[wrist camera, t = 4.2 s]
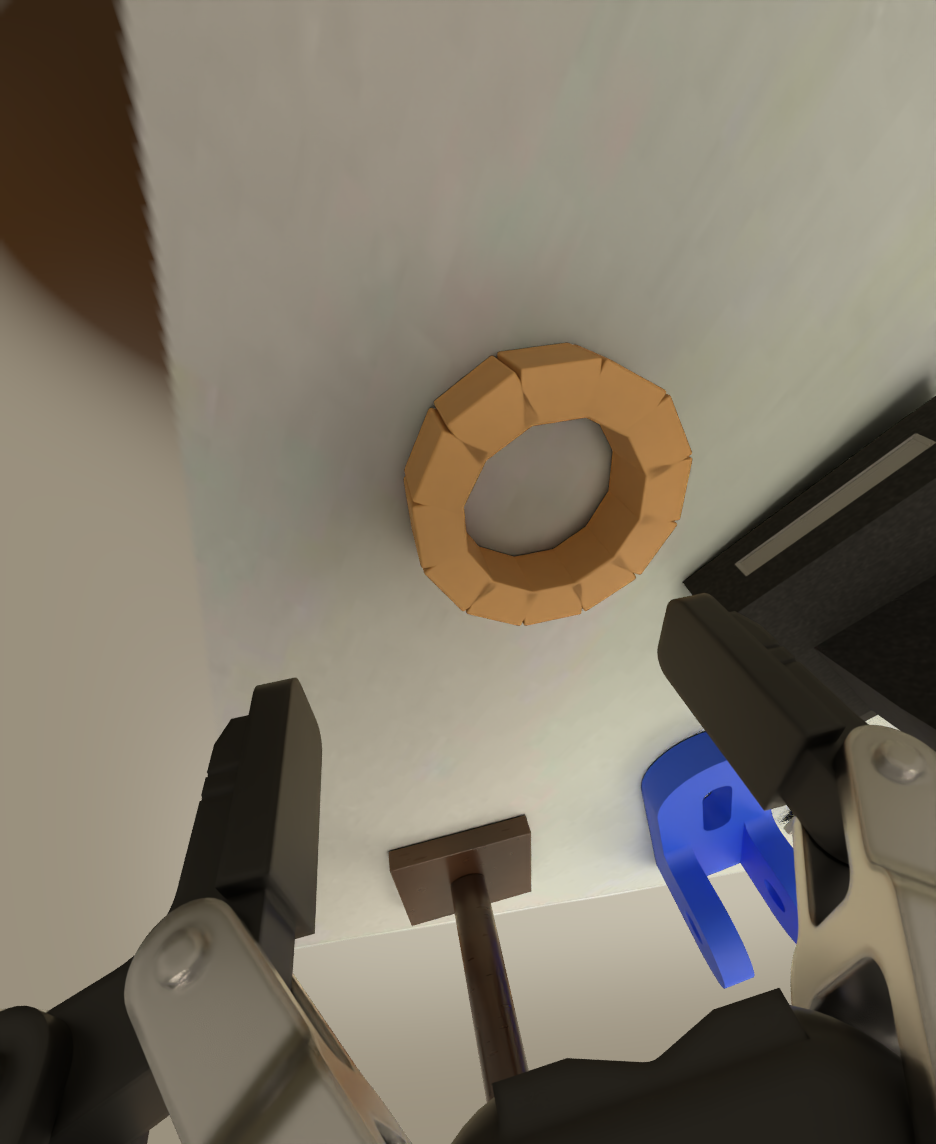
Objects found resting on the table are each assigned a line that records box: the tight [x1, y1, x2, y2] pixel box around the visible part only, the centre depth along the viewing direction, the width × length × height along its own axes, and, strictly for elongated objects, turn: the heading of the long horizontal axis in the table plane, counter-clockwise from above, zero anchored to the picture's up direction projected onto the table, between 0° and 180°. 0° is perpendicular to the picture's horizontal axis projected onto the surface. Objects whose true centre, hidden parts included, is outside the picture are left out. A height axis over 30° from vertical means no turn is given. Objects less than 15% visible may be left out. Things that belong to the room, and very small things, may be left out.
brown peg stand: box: [389, 815, 531, 1102], centre depth 28 cm, size 9×9×12 cm
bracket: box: [641, 732, 798, 989], centre depth 32 cm, size 18×8×9 cm, turn 19°
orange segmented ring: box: [403, 343, 692, 626], centre depth 16 cm, size 9×9×2 cm
